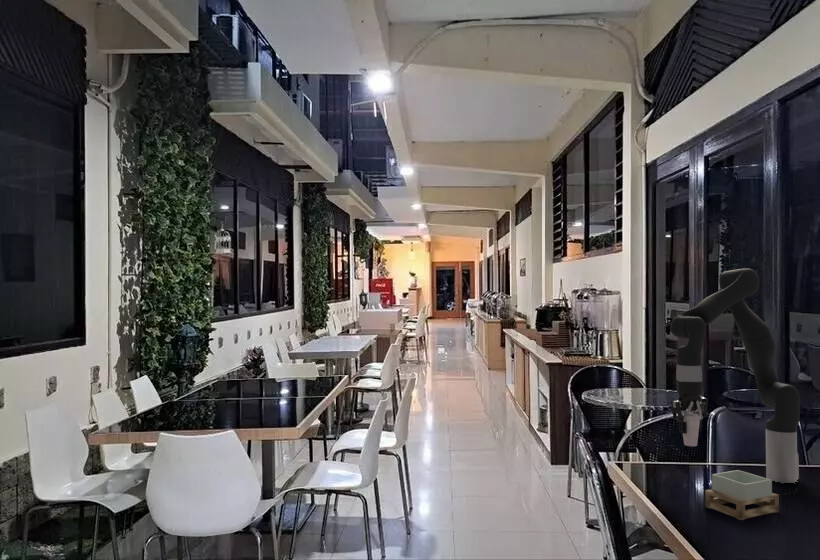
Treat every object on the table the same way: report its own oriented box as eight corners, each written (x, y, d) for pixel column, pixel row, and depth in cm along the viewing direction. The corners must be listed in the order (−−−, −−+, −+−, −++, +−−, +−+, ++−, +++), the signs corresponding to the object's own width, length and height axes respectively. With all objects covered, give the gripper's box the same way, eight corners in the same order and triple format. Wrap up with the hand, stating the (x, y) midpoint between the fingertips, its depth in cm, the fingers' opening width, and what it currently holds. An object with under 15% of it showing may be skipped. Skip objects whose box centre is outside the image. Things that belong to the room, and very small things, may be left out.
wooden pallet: (742, 499, 194) (742, 483, 194) (778, 511, 183) (778, 494, 183) (705, 506, 187) (705, 490, 187) (741, 520, 176) (741, 502, 177)
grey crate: (737, 484, 193) (737, 469, 193) (771, 495, 182) (771, 479, 183) (712, 489, 188) (712, 474, 188) (745, 500, 178) (745, 484, 178)
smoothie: (704, 447, 194) (703, 402, 194) (682, 446, 195) (681, 402, 195) (698, 442, 200) (697, 399, 200) (677, 442, 201) (676, 398, 202)
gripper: (695, 376, 204) (696, 427, 204) (663, 379, 198) (664, 432, 198) (715, 378, 197) (716, 432, 197) (682, 382, 191) (683, 437, 191)
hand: (690, 431), depth 198 cm, fingers closed on smoothie, 5 cm apart
